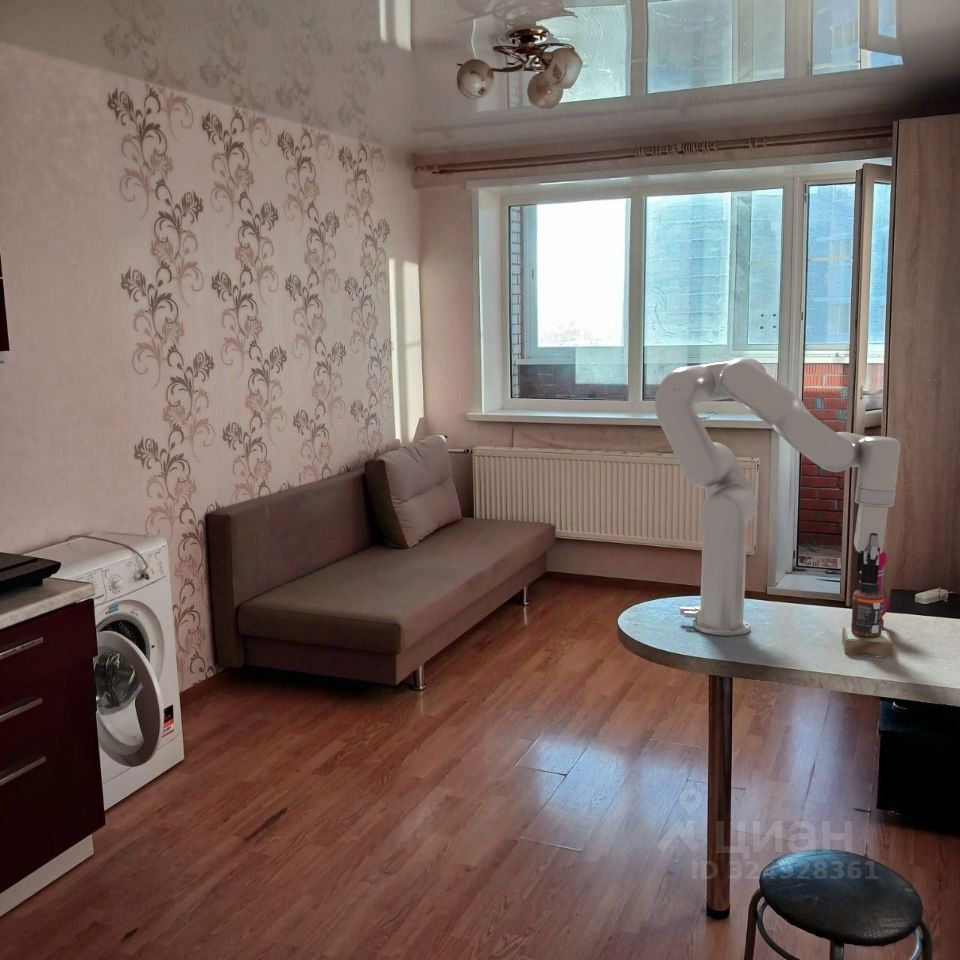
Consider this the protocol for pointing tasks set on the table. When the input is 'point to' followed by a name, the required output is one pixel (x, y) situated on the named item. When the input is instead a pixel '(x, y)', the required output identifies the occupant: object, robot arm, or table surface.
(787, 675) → the table surface
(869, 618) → the supplement bottle
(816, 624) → the table surface
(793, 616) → the table surface
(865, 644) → the base
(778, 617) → the table surface
